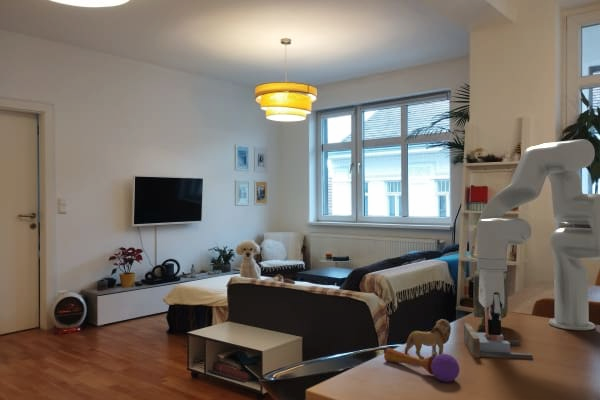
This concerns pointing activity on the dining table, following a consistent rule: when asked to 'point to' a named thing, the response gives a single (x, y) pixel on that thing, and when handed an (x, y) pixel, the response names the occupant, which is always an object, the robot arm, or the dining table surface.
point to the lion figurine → (430, 338)
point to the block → (493, 344)
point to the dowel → (488, 337)
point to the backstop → (474, 347)
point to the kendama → (428, 364)
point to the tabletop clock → (478, 308)
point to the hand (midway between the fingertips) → (492, 331)
